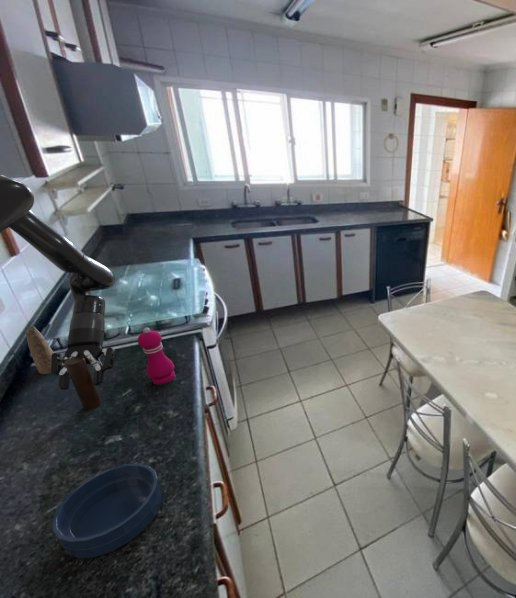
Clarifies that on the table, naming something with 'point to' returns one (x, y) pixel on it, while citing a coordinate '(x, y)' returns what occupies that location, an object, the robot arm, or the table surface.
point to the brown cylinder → (83, 382)
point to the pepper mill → (156, 357)
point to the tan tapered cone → (39, 350)
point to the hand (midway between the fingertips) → (81, 386)
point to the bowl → (108, 510)
